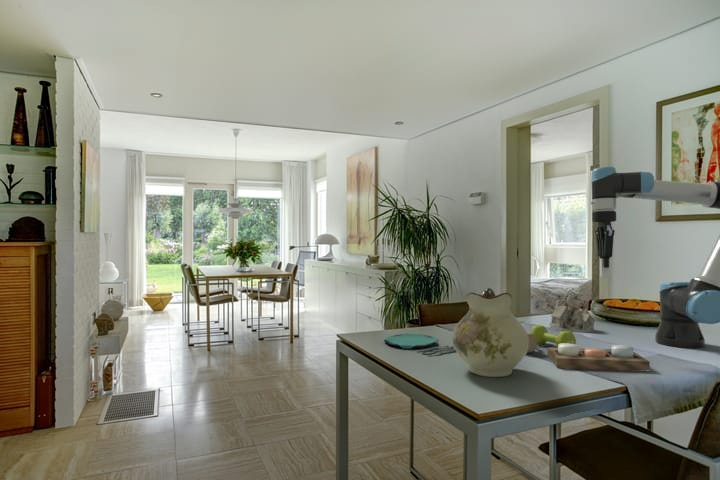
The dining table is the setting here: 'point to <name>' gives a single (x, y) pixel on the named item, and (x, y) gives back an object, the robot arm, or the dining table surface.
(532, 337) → the ceramic mug
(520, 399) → the dining table surface
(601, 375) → the dining table surface
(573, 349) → the cream button
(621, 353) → the grey button
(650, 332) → the dining table surface
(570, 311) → the ceramic cottage
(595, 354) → the terracotta button
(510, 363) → the pitcher
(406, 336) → the cutlery set
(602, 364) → the wooden compartment tray
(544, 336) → the dumbbell
